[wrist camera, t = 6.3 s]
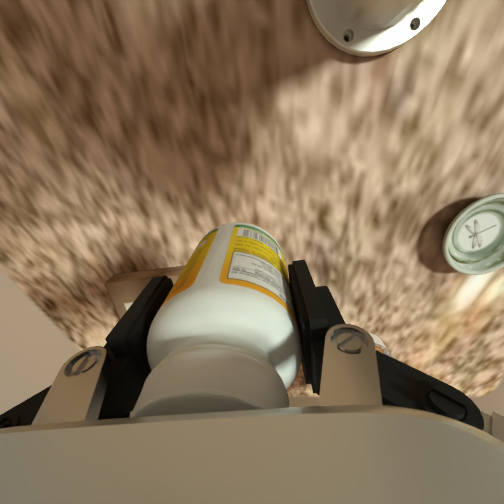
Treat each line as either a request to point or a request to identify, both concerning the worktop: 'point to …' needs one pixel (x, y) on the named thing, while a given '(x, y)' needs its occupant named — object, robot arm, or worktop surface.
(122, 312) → the rack board
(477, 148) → the worktop surface
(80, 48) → the worktop surface
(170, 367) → the supplement bottle
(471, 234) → the saucer
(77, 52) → the worktop surface
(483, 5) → the worktop surface
